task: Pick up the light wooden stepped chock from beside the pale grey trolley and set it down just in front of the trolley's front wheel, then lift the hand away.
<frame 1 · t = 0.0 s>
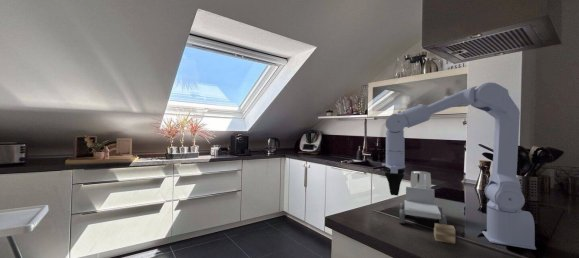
hand: (394, 192, 80), 10 cm above the counter, tool pointing down, fingers open, 7 cm apart
trolley: (420, 221, 82), on the counter
beer glass: (420, 212, 93), on the counter
chock: (444, 239, 69), on the counter
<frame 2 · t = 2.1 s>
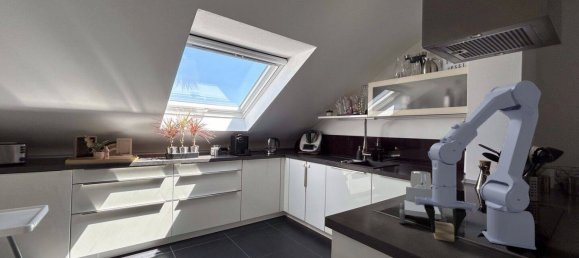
hand: (443, 233, 69), 1 cm above the counter, tool pointing down, fingers closed on chock, 4 cm apart
chock: (443, 237, 70), on the counter, touching gripper
everything else where it was.
when the fingers open (2 cm above the counter, at t = 5.6 s): chock stays where it is, on the counter.
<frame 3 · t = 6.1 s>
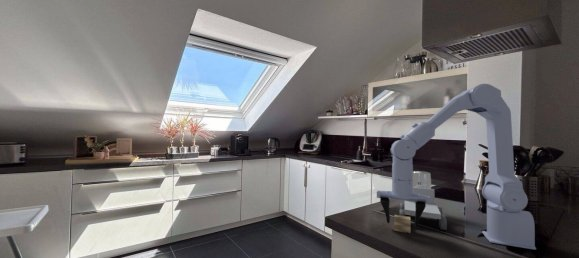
hand: (401, 224, 74), 2 cm above the counter, tool pointing down, fingers open, 7 cm apart
chock: (402, 229, 75), on the counter
everything else where it was.
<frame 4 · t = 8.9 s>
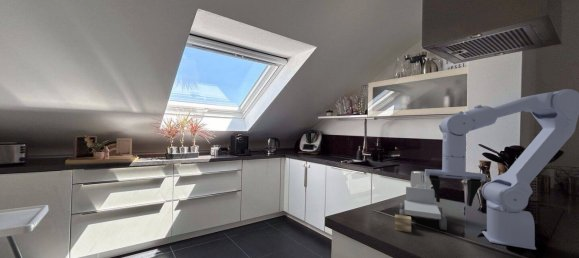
hand: (453, 203, 71), 9 cm above the counter, tool pointing down, fingers open, 7 cm apart
nothing on the counter moved.
at the end: chock 1.3 cm from the target spot on the counter beside the trolley, on the counter; chock tilted 0°; the gripper is holding nothing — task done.
